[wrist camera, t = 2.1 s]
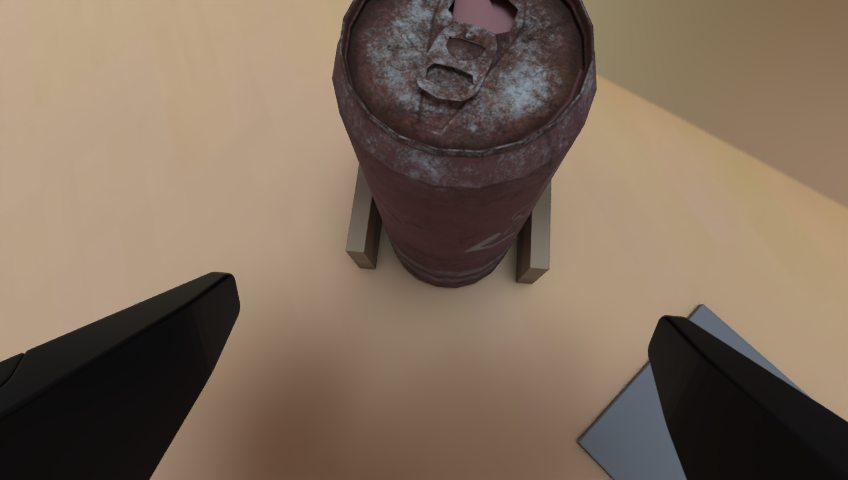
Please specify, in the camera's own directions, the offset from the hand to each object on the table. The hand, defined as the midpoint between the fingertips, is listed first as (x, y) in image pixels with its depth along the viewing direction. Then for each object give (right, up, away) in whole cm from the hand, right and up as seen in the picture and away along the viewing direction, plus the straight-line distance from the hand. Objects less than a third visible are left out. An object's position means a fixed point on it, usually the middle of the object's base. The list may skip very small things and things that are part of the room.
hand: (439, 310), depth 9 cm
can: (+1, +2, +14) cm, 14 cm away
